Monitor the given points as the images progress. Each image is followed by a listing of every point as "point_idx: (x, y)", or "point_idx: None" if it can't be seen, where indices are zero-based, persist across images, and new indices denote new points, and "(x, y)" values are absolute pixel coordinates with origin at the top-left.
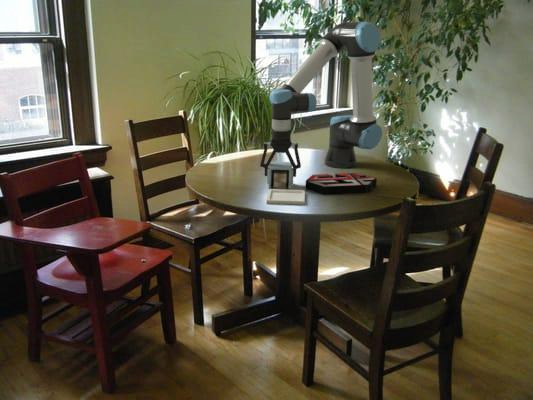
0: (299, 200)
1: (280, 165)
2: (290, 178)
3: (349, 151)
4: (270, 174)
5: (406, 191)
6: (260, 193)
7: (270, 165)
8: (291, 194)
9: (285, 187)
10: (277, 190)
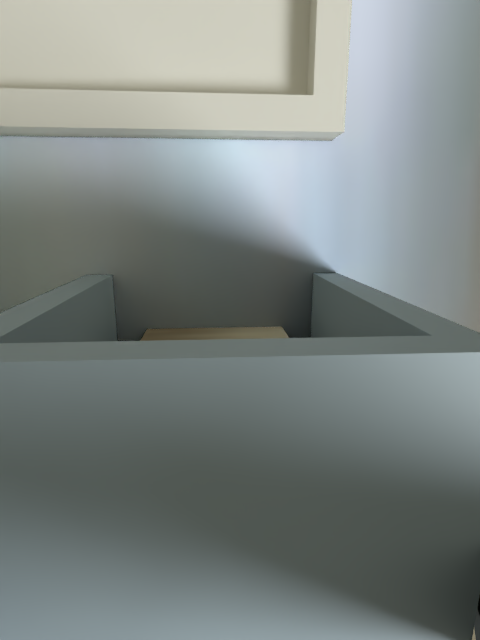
0: None
1: (221, 549)
2: (38, 299)
3: None
4: (390, 309)
5: None
6: (428, 92)
7: (465, 512)
8: (41, 9)
9: (152, 331)
10: (233, 93)
